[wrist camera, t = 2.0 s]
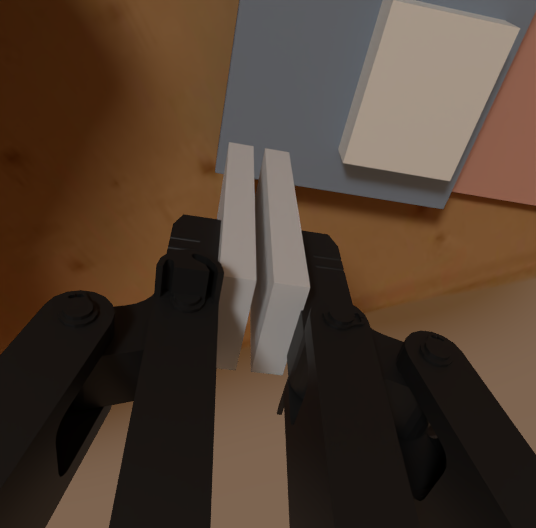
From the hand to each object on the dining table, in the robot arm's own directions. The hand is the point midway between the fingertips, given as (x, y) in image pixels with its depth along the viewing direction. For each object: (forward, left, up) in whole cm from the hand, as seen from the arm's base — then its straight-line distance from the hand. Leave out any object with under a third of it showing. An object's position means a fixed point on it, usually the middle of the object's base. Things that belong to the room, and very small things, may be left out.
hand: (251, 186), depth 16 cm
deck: (+7, 0, -18) cm, 20 cm away
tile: (+10, 0, -14) cm, 18 cm away
